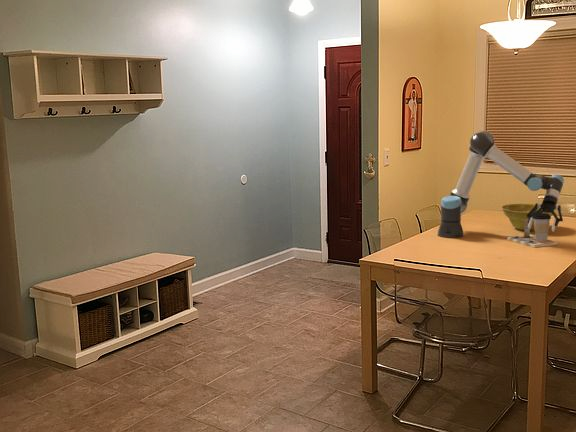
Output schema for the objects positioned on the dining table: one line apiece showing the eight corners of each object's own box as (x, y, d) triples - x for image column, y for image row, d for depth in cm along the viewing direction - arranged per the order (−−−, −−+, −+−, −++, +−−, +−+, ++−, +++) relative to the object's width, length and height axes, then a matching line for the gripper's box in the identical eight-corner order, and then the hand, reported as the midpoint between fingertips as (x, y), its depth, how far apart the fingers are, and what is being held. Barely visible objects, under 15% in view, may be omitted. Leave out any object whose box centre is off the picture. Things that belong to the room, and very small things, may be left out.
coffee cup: (531, 242, 350) (531, 215, 348) (533, 238, 359) (534, 213, 356) (549, 242, 346) (550, 216, 344) (551, 239, 354) (551, 213, 352)
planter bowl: (563, 233, 379) (564, 211, 377) (509, 234, 380) (510, 212, 377) (543, 223, 411) (544, 203, 408) (493, 224, 411) (494, 204, 409)
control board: (507, 239, 365) (508, 220, 363) (529, 237, 370) (530, 218, 368) (534, 247, 344) (535, 227, 342) (557, 244, 350) (558, 224, 347)
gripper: (574, 204, 352) (564, 235, 344) (530, 200, 368) (520, 230, 359) (572, 196, 347) (562, 227, 339) (528, 193, 363) (517, 222, 354)
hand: (540, 229), depth 349 cm, fingers open, 12 cm apart
